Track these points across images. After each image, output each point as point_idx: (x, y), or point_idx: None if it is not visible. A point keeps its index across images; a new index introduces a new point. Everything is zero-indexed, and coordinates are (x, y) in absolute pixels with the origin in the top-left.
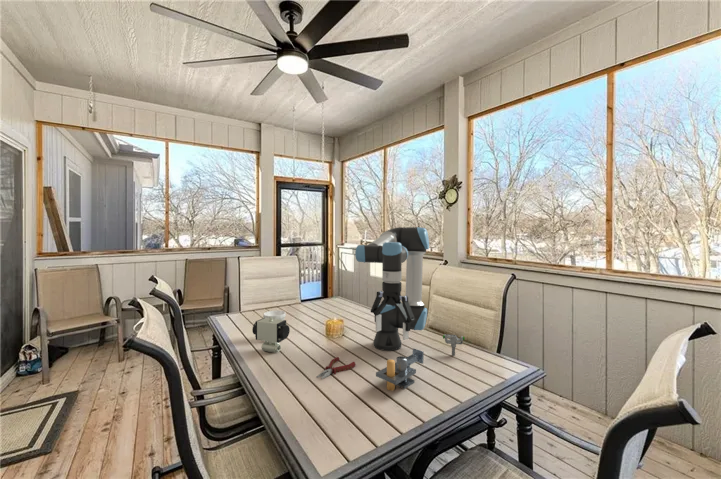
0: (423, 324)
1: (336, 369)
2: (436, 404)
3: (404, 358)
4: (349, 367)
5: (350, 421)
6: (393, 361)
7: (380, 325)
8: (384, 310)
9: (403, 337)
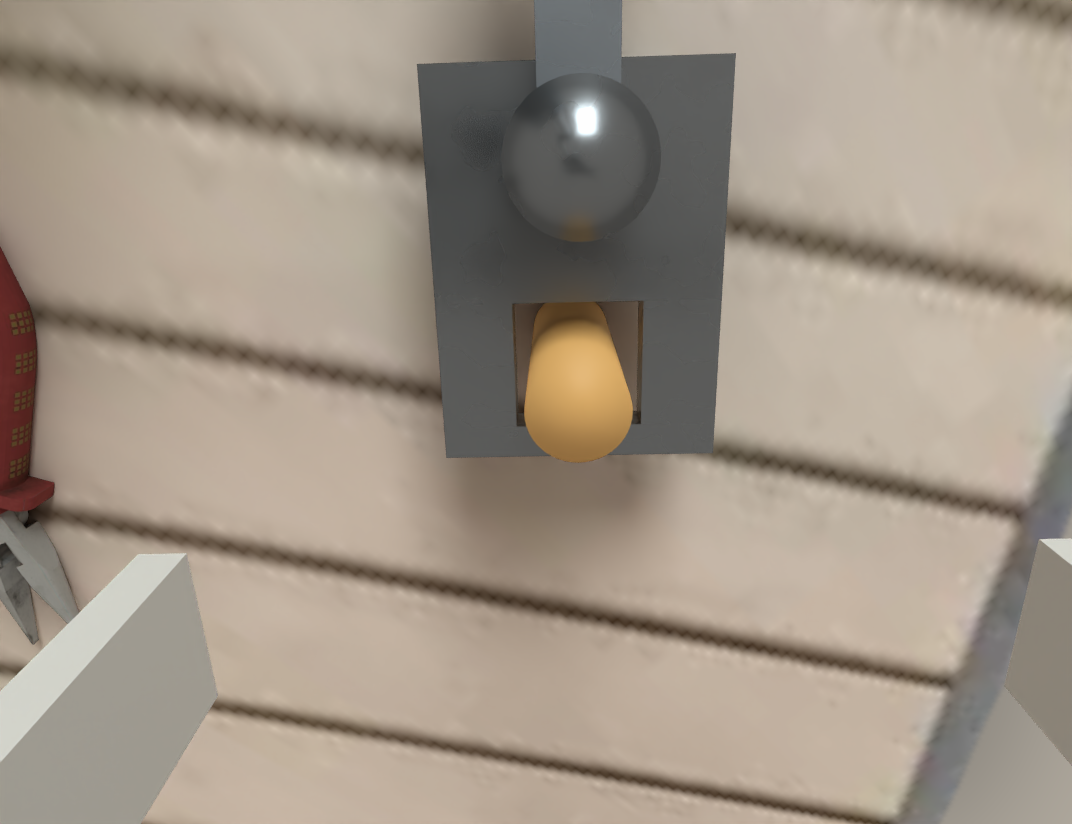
0: None
1: (9, 474)
2: (1019, 256)
3: (609, 128)
4: (23, 342)
5: (642, 785)
6: (611, 399)
7: (119, 678)
8: None
9: (1061, 731)
